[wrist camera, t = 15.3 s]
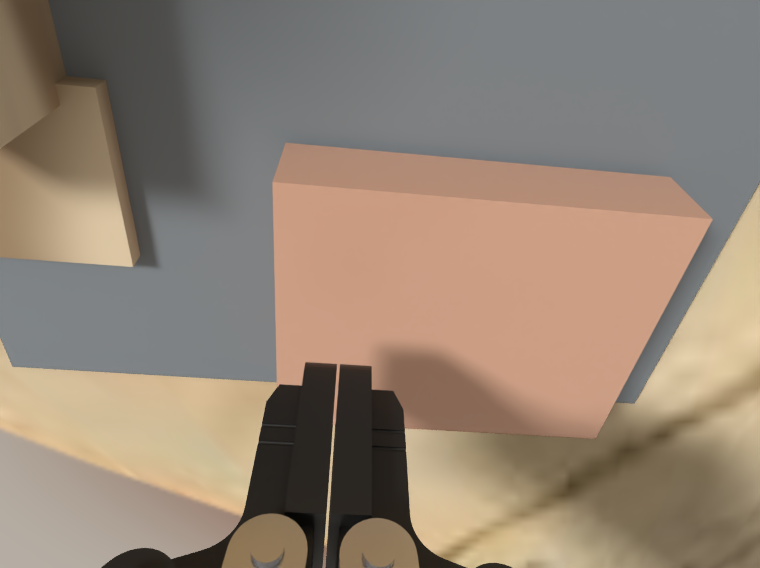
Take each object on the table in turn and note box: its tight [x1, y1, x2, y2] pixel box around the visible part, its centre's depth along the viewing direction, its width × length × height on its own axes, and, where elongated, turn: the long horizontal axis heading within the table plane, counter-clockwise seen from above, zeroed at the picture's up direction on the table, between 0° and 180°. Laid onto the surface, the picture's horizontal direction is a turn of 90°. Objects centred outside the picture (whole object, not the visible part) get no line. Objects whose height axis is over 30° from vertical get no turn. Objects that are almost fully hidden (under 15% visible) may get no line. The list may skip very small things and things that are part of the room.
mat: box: [0, 0, 760, 403], centre depth 14 cm, size 22×19×1 cm
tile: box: [272, 143, 713, 439], centre depth 15 cm, size 2×8×10 cm
